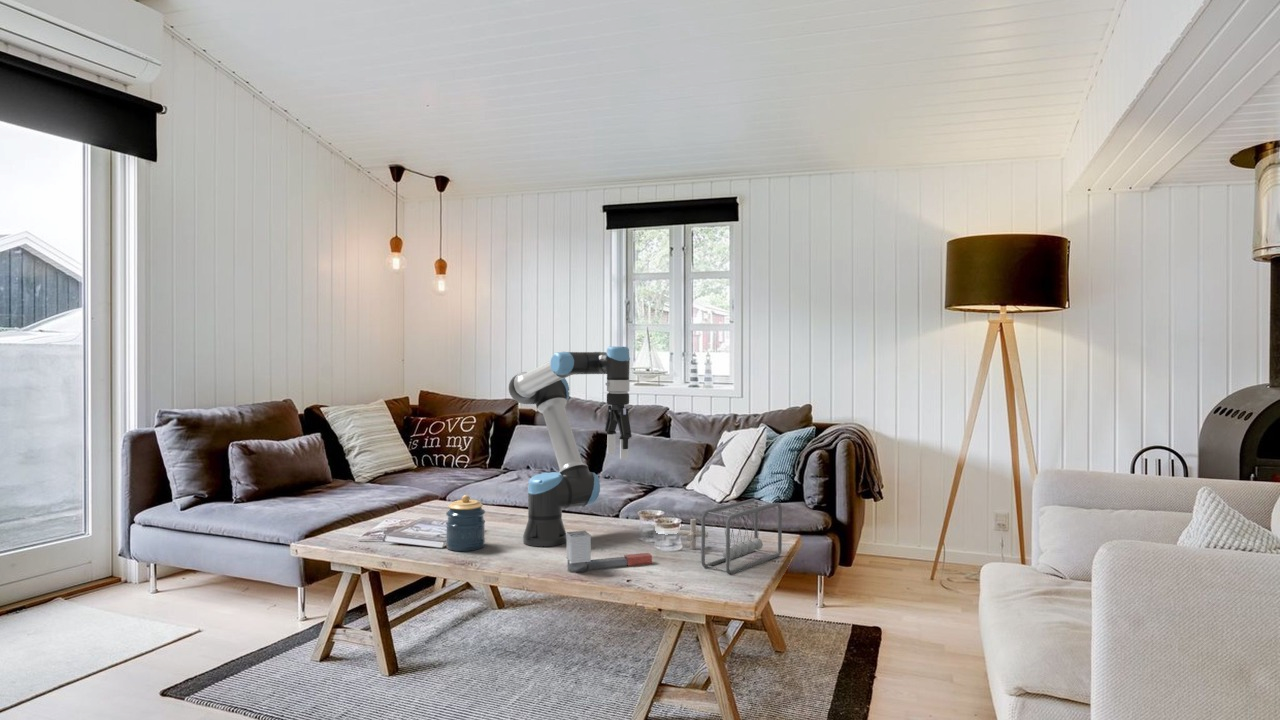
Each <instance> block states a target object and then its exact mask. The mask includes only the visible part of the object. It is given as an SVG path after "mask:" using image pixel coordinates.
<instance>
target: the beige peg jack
mask: <svg viewBox="0 0 1280 720" xmlns="http://www.w3.org/2000/svg"><path fill="white" fill-rule="evenodd" d="M696 525H697V519H696V518H690V525H689V526H690V527H689V529H690V530H686V529H685V530H683V529H678V531H677V535H678V536H683V537H686V540H688V541H690V543H689V544H690V545H689V546H690V547H689V549H690V550H692V549H694V550H697V549H696V548H697V545H696V544H697V543H696V541H697V540H696V538H701V531H700V529H699V528H697V526H696ZM708 537H709V533H708V532H707V531H705V539H706V538H707V539H708Z"/></svg>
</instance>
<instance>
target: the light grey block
mask: <svg viewBox="0 0 1280 720" xmlns="http://www.w3.org/2000/svg"><path fill="white" fill-rule="evenodd" d="M566 534H567V541H566V557H565V558H566V559H567V561H568V560H569V561H570V562H571V563H581V562H591V560H592V554H591V553H592V551H591V550H592V549H591V548H592V546H591V545H592V544H591V543H592V536H591V534H590V533H589V532H588V531H586V530H578V531H566Z"/></svg>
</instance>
